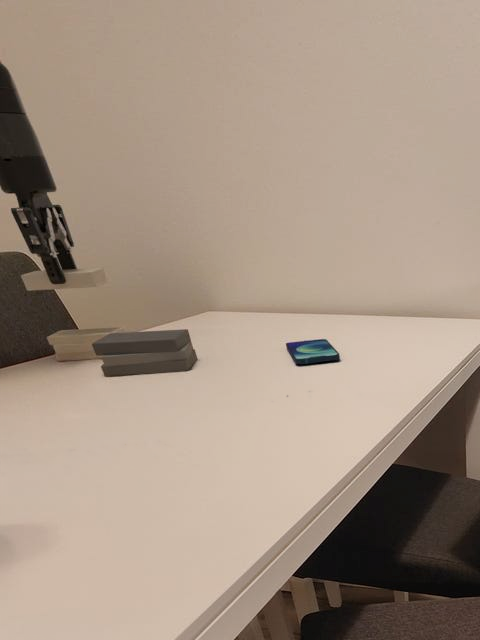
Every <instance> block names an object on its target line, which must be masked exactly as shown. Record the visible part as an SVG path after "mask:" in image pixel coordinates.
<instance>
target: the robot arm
mask: <svg viewBox="0 0 480 640" xmlns="http://www.w3.org/2000/svg"><path fill="white" fill-rule="evenodd" d="M0 189H1V191H2V192H3V193H5V194H7V195H9V194H12V195H13V194H14V196H15V197H16V200H17V204H18V207H10V212H11V214H12V216H13V219H14V220H15V223H16V225H17V227H18V229H19V231H20V233H21V235H22V238H23V239H24V241H25V244H26V246H27V248H28V250H29V252H30V253H31V254H32V255H36V257H37V258H40V260H41V263H42V265H43V267H44V271H46V273H47V275H48V277H49V280H50V282H51V283H52V284H64V283H66V279H65V277H64V274H63V272H62V270H67V269H78V267H77V265H76V262H75V260H74V257H73V254H72V253H73V248H74V247H75V243H74V241H73V237H72V234H71V231H70V228H69V226H68V223H67V220H66V218H65V217H66V216H65V213H64V211H63V207H62V206H61V205H60V204H53V203H52V201H51V199H50V197H49V195H48V193H56V192H57V185H56V183H55V180H54V177H53V175H52V172H51V170H50V166H49V164H48V161H47V158H46V156H45V154H44V151H43V147H42V146H41V143H40V140H39V137H38V135H37V133H36V131H35V129H34V127H33V124H32V122H31V121H30V119H29V116H28V115H27V111H26V108H25V106H24V103H23V100H22V98H21V95H20V93H19V89H18V88H17V85H16V83H15V80H14V78H13V76H12V74H11V72H10V70H9V69H8V67H7V66H6V65H4V63H3V62H2V61H1V60H0Z"/></svg>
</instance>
